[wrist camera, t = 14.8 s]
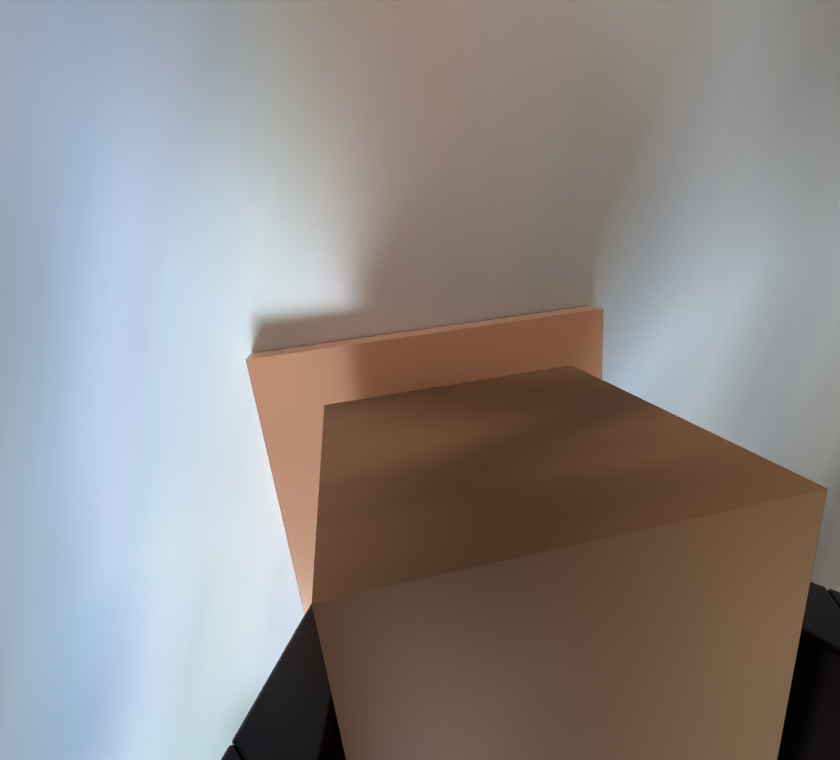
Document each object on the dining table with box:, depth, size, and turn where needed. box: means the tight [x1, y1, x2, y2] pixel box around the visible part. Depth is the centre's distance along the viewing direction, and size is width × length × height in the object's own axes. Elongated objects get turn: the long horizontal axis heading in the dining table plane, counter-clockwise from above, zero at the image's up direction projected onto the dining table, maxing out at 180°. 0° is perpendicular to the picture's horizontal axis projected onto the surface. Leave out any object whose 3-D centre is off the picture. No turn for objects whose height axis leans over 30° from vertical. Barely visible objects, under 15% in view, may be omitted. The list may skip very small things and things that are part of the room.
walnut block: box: [312, 365, 827, 760], centre depth 7 cm, size 5×5×5 cm
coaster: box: [246, 306, 603, 614], centre depth 11 cm, size 8×8×1 cm
